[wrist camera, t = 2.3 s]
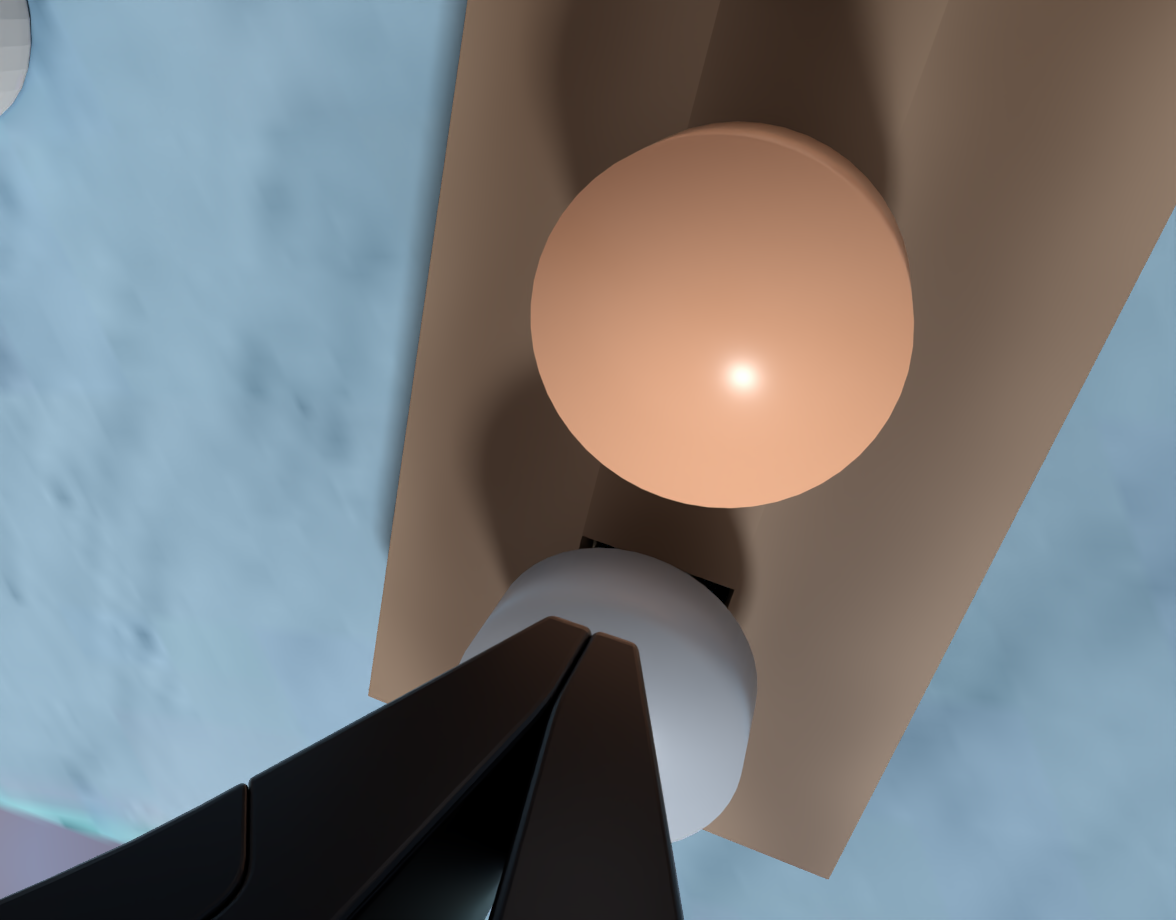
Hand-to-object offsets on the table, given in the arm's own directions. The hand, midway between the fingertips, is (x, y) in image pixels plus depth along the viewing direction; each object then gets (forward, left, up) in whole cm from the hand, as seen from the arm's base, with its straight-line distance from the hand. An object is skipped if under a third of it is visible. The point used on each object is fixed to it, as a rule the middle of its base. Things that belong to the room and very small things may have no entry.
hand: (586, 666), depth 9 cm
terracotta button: (0, -1, -11) cm, 12 cm away
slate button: (0, +7, -11) cm, 13 cm away
